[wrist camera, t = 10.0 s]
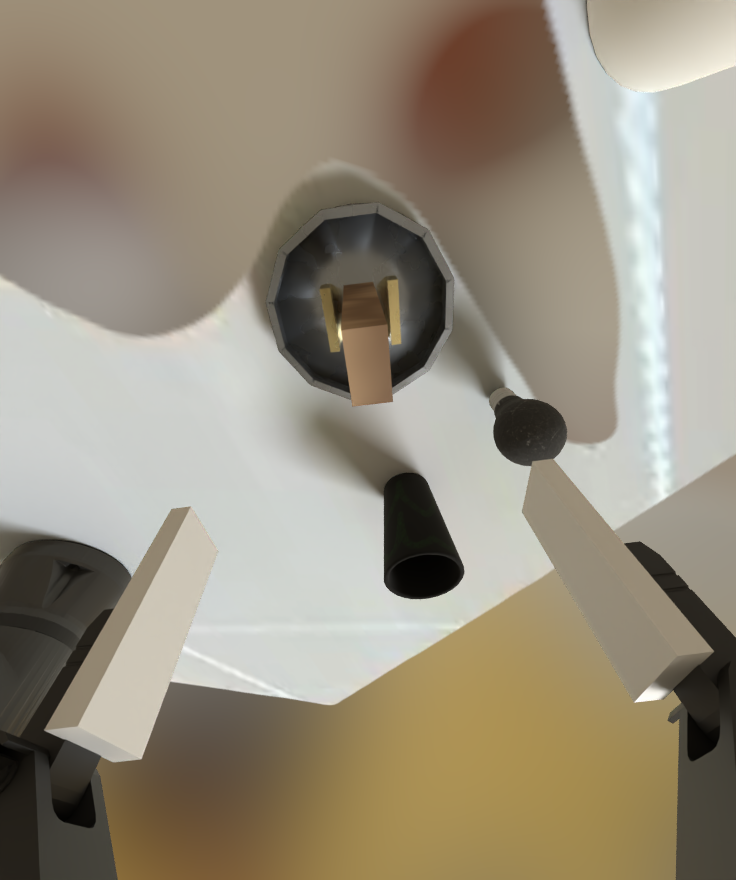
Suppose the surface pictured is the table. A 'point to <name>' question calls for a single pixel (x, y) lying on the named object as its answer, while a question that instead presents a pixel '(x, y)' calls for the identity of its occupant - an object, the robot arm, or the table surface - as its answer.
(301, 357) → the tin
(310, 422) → the table surface
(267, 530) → the table surface
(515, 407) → the light bulb
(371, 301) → the tapered wood plank
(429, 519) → the cup
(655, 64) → the cup
